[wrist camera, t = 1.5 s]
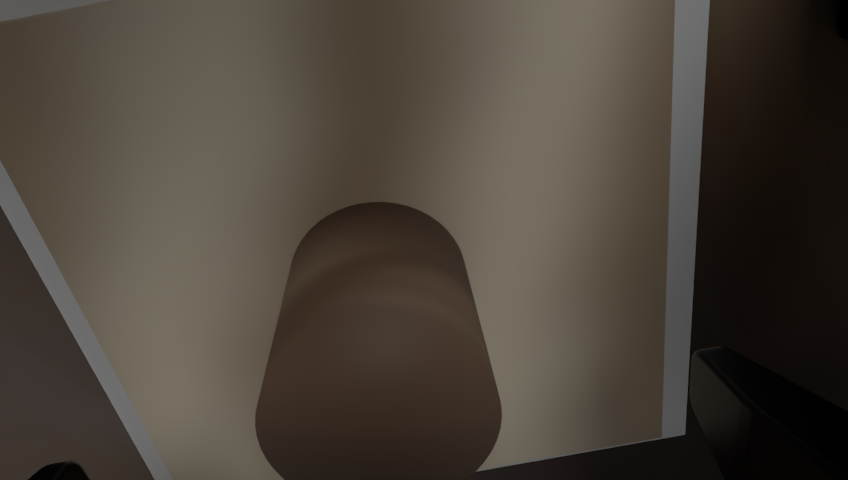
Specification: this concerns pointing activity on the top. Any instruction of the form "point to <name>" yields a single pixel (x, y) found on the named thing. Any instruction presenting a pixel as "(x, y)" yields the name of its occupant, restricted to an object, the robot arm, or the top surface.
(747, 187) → the top surface
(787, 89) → the top surface
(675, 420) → the mat
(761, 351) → the top surface
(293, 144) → the cover
